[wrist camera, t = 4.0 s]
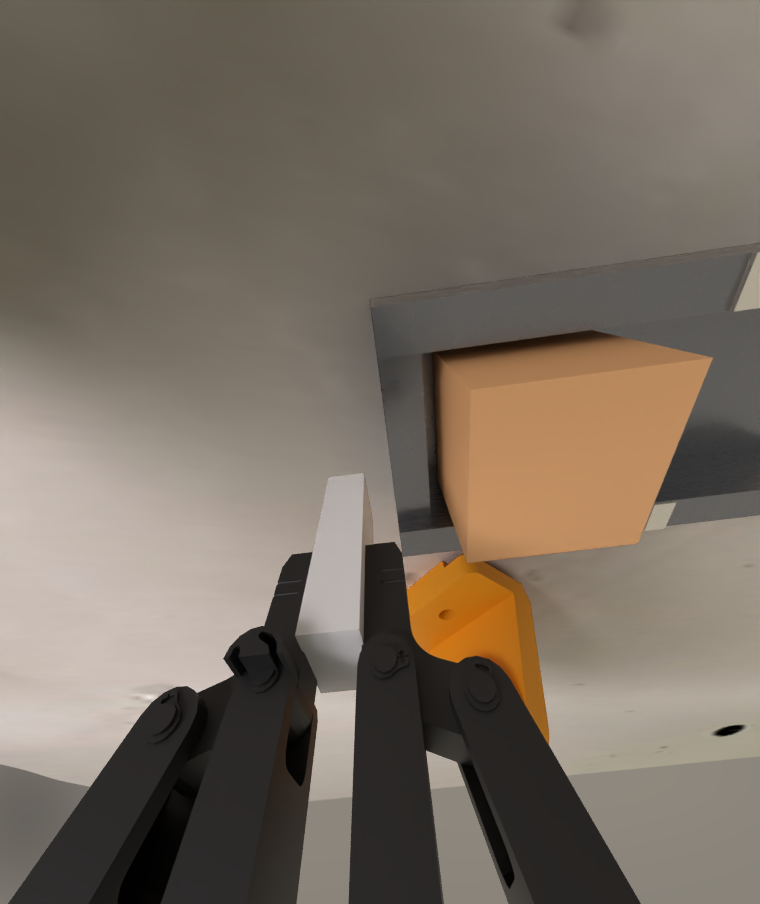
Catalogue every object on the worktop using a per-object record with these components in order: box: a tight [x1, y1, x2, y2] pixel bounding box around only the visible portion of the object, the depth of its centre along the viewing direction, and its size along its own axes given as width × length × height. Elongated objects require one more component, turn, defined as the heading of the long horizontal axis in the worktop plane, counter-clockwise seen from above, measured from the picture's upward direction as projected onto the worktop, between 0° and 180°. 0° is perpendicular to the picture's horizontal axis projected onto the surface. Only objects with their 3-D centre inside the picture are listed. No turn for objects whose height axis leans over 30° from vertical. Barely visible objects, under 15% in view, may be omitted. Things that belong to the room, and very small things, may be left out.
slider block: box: [433, 330, 713, 563], centre depth 15 cm, size 8×9×7 cm
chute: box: [370, 243, 760, 557], centre depth 17 cm, size 26×14×6 cm, turn 97°
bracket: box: [407, 555, 549, 745], centre depth 24 cm, size 11×7×12 cm, turn 142°
